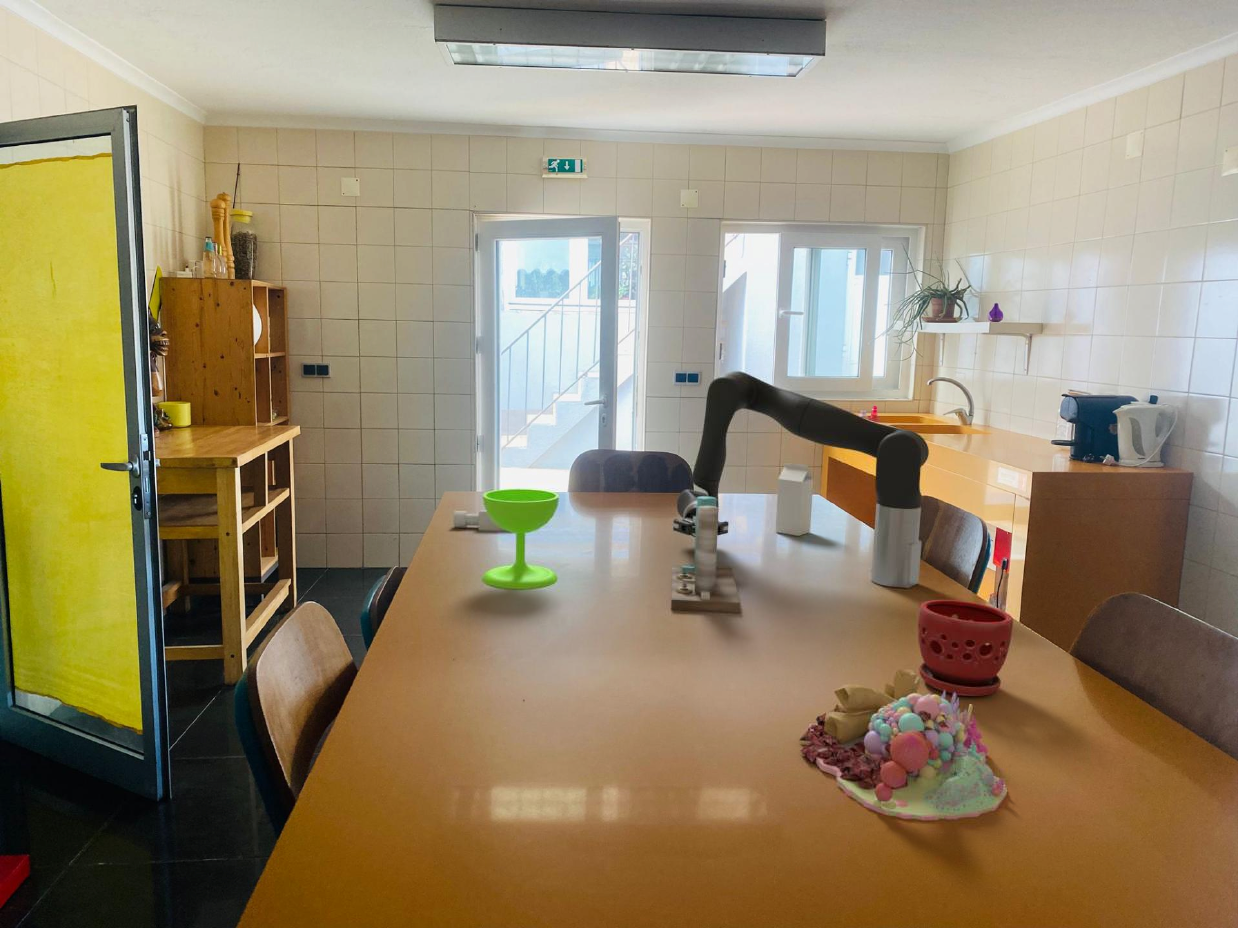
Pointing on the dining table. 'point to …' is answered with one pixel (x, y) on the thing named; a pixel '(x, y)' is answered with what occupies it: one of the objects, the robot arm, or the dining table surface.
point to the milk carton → (794, 500)
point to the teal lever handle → (700, 502)
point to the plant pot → (963, 646)
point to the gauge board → (715, 601)
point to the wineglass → (520, 534)
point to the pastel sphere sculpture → (905, 752)
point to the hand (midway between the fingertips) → (701, 534)
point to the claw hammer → (475, 520)
